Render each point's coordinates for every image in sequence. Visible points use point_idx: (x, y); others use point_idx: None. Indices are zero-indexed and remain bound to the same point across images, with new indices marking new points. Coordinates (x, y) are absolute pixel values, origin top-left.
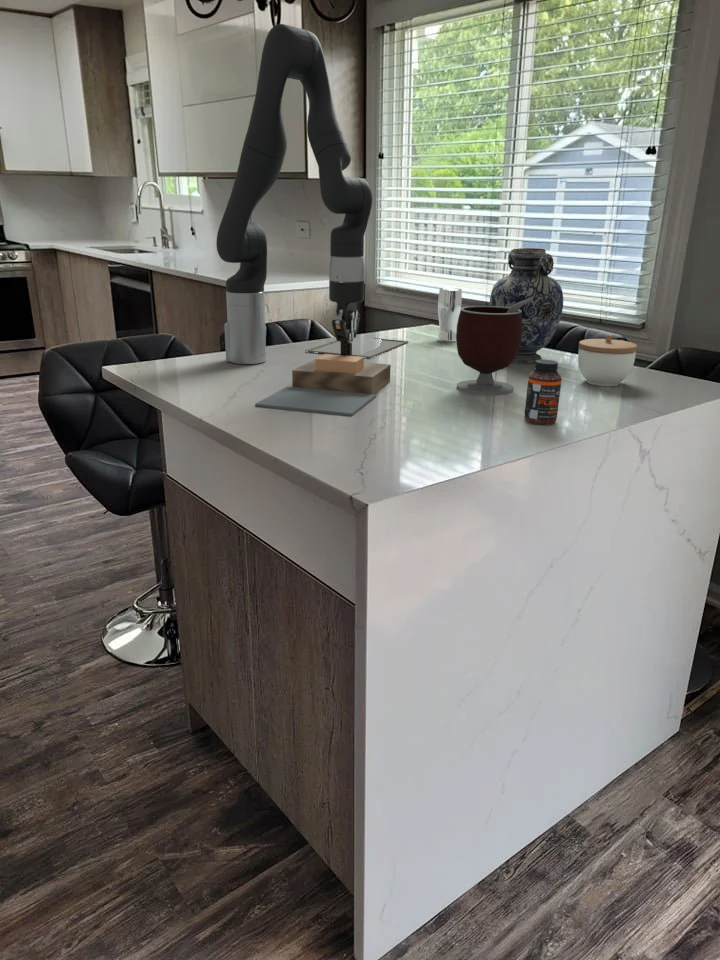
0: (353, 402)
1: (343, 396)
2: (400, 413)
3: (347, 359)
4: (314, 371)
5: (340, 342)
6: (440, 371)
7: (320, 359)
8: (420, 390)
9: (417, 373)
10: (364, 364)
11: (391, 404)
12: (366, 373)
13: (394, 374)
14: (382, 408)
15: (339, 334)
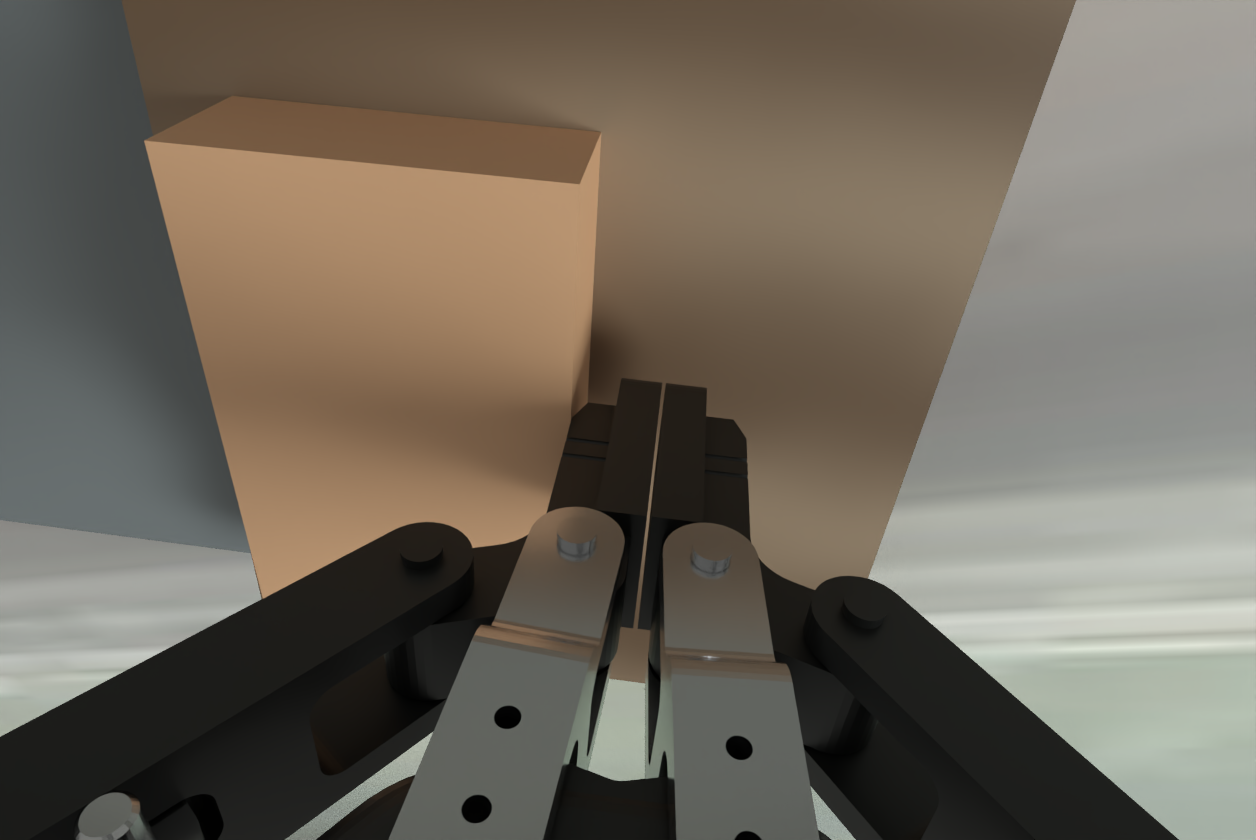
0: (18, 464)
1: (124, 378)
2: (50, 672)
3: (344, 517)
4: (180, 97)
5: (559, 521)
6: (1222, 819)
7: (168, 219)
8: (605, 735)
9: (1155, 718)
10: (777, 534)
11: (195, 630)
12: None
13: (1120, 596)
14: (80, 599)
15: (410, 635)
